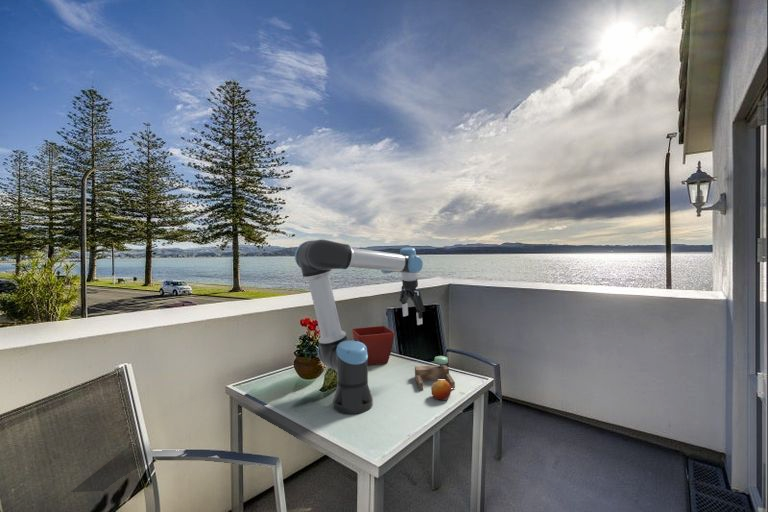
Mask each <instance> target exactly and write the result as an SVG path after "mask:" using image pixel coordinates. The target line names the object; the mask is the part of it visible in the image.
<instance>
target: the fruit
mask: <svg viewBox="0 0 768 512" xmlns="http://www.w3.org/2000/svg"><path fill="white" fill-rule="evenodd" d="M430 389H431V396H432V397H433V398H435V399H436V400H437V401H448V399H449V398H450V396H451V393H452V389H451V386H450V384H449V383H448V382H447V381H446V380H436V381H435V382H433V383H432V386H431V388H430Z"/></svg>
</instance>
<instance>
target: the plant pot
mask: <svg viewBox="0 0 768 512" xmlns="http://www.w3.org/2000/svg"><path fill="white" fill-rule="evenodd" d="M351 330H352V332H351V333H352V336H353V341H359V342H361V343H363V344H364V345H365V346H366V348H367V354H368V358H367V364H368V366H373V365H375V366H377V365H383V364H384V365H385V364H388V362H389V361H390V357H391V354H392V349H393V344H394V340H395V339H394V338H395V331H393V330H391V329H390V328H388V327H387V326H386V325H378V326H376V325H375V326H366V327H365V326H364V327H357V328H355V327H354V328H352V329H351Z"/></svg>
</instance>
